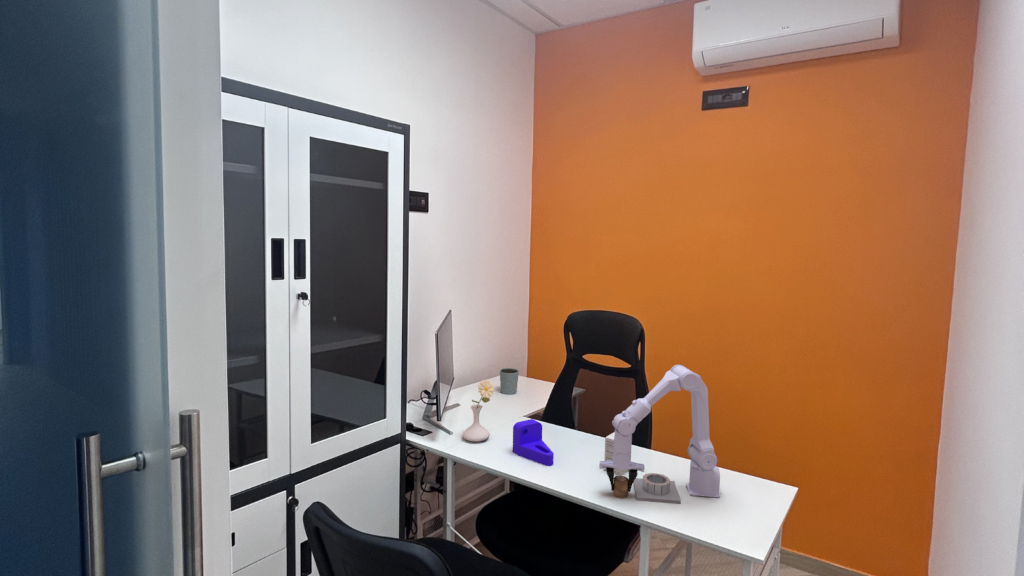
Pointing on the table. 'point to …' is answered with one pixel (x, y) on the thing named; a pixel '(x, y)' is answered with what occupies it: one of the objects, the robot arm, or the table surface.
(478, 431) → the flower in vase
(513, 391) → the green cylindrical pot
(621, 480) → the walnut cap
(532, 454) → the bracket
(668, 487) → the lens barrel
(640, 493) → the mount plate
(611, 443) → the supplement box
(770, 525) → the table surface
